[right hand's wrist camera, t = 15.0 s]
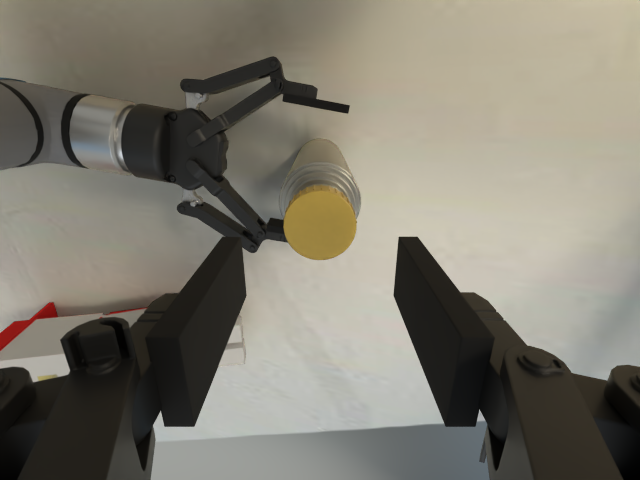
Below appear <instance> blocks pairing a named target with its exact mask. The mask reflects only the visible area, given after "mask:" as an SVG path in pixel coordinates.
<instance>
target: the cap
mask: <svg viewBox="0 0 640 480" xmlns="http://www.w3.org/2000/svg"><path fill="white" fill-rule="evenodd" d="M285 213H286V214H285V216H284V219H283V220H284V226H283V228H284V233H285V236H286V239H287V241H288V243H289V244H290V246H291V247H292V248H293V249H294V250H295V251H296V252H297V253H299V254H300V255H302V256H304V257H306V258H309V259H314V260H326V259H331V258H334V257H336V256H338V255H340V254H341V253H343V252H344V251H345V250H346V249H347V248H348V247H349V246H350V244H351V243H352V241H353V239H354V236H355V233H356V223H357V221H356V218H355V216H356V214H355V211H354V210H353V206H352V203H350V202H349V199H348V197H346V196H345V195H344V194H343V192H340V191H338V190H337V188H335V189H334V188H332V187H330V186H329V185H328V186H322V184H321V185H318V186H315V185H313V186H311V187H306V189H303V190H302V191H301V190H300V191H299V193H298V194H296V195H294V197H293V199H292V200H291V201H289V204H288V207H287V208H286V211H285Z"/></svg>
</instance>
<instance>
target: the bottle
mask: <svg viewBox="0 0 640 480" xmlns="http://www.w3.org/2000/svg"><path fill="white" fill-rule="evenodd" d="M321 184H322V186H328V185H329V186H330V187H332V188H334V189H335V188H337V190H338V191H340V192H343V194H344V195H345V196H346V197H348V199H349V202H350V203H352V206H353V210H354V211H355V214H356V216H355V218H356V219H357V216H358V214H359V211H360V205H361V197H360V192H359V188H358V186H357V184H356V181H355V179H354V177H353V175H352V173H351V171H350V169H349V167H348V165H347V163H346V161H345V159H344V157H343V155H342V153H341V151H340V150H339V148H338V147H337V146H336V145H335V144H334V143H333V142H331V141H329V140H326V139H314V140H311V141H309V142H307V143H306V144H305V145H304V146H303V147H302V148H301V150H300V151H299V153H298V155H297V157H296V159H295V161H294V163H293V165H292V167H291V169H290V171H289V174H288V176H287V178H286V180H285V182H284V184H283V186H282V188H281V191H280V197H279V205H280V211H281V214H282V217H283V219H284V216H285V214H286V213H285V211H286V208H287V207H288V204H289V201H291V200H292V199H293V197H294V195H296V194H298V193H299V191H300V190H301V191H302V190H303V189H306V187H311V186H313V185H315V186H318V185H321Z"/></svg>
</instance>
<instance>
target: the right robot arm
mask: <svg viewBox="0 0 640 480" xmlns="http://www.w3.org/2000/svg"><path fill="white" fill-rule="evenodd" d="M245 298H246V286H245V274H244V263H243V252H242V240H241V237H222V238H221V240H220V241H219V242H218V243H217V245H216V246H215V247H214V249H213V250H212V251H211V253H210V254H209V255H208V256H207V258H206V259H205V260H204V262H203V263H202V264H201V265H200V267H199V268H198V269H197V271H196V272H195V273H194V275H193V276H192V277H191V278H190V280H189V281H188V282H187V284H186V285H185V286H184V288H183V289H182V290H181V291H180V293H179V294H165V295H163V296H161V297H160V298H158V299H156V300H155V301H153V302H152V303H151V304H150V305H149V307H148V308H147V309H146V310H145V311H144V314H142V315H141V316H140V317H139V318H138V319H137V322H135V323H134V324H133V325H132V326H131V327H129V323H128V322H127V321H126V320H125V319H123V318H118V317H104V318H99V319H95V320H91V321H88V322H86V323H83V324H81V325H78V326H76V327H75V328H73V329H72V330H70V331H68V332H67V333H66V334H65V335H64V336H63V337H62V338H61V339H60V342H61V345H62V348H63V351H64V354H65V357H66V360H67V363H68V366H69V369H70V372H69V374H68V375H65V376H60V377H56V378H51V379H46V380H41V381H37V382H33V381H32V378H31V375H30V373H29V371H28V370H26V369H25V368H23V367H7V368H1V369H0V480H150V479H151V471H152V463H153V455H154V447H155V433H154V428H153V424H154V422H155V420H156V418H157V416H158V415H159V413H160V411H161V413H162V417H163V422H164V426H165V427H194V426H195V424H196V421H197V419H198V416H199V413H200V411H201V408H202V406H203V403H204V401H205V398H206V396H207V393H208V391H209V388H210V386H211V383H212V381H213V378H214V376H215V373H216V371H217V368H218V366H219V363H220V361H221V358H222V356H223V353H224V351H225V348H226V346H227V343H228V341H229V338H230V336H231V333H232V330H233V328H234V325H235V323H236V320H237V318H238V315H239V313H240V310H241V308H242V305H243V303H244V300H245ZM394 298H395V300H396V303H397V305H398V308H399V310H400V313H401V315H402V318H403V320H404V323H405V325H406V328H407V330H408V333H409V336H410V338H411V341H412V343H413V346H414V348H415V351H416V353H417V356H418V358H419V361H420V363H421V366H422V368H423V371H424V373H425V376H426V378H427V381H428V383H429V386H430V388H431V391H432V393H433V396H434V398H435V401H436V403H437V406H438V408H439V411H440V413H441V416H442V419H443V421H444V424H445V426H446V427H475V426H476V422H477V417H478V413H479V409H480V411H481V413H482V415H483V417H484V418H485V420H486V422H487V429H486V433H485V437H484V441H483V445H482V450H481V454H480V462H483V463H484V462H485V458H486V455H487V462H488V470H489V478H490V480H640V367H637V366H631V365H621V366H616V367H615V368H613V369H612V370H611V373H610V375H609V378H608V381H606V380H601V379H597V378H592V377H587V376H582V375H578V374H574V373H571V371H570V370H569V368H568V367H567V366H566V364H565V363H564V362H563V361H561V360H560V359H559V358H557V357H556V356H555V355H553V354H551V353H549V352H546V351H544V350H542V349H539V348H535V347H532V346H527V345H526V344H525V343H524V341H523V340H522V339H521V338H520V337H519V336H518V335H517V333H516V332H515V331H514V330H513V329H512V328H511V327H510V326H509V324H508V323H507V322H506V321H504V320H503V318H502V316H501V315H500V314H499V313H498V312H496V310H495V308H494V307H493V306H492V305H491V304H490V303H489V302H488V301H487V300H486V299H484V298H482V297H481V296H479V295H477V294H476V293H460V291H459V290H458V289H457V288H456V286H455V285H454V284H453V282H452V281H451V280H450V278H449V277H448V276H447V275H446V273H445V272H444V271H443V269H442V268H441V267H440V265H439V264H438V263H437V262H436V260H435V259H434V258H433V256H432V255H431V254H430V253H429V251H428V250H427V249H426V247H425V246H424V245H423V243H422V242H421V241H420V240H419V238H418V237H399V240H398V252H397V263H396V274H395V286H394Z"/></svg>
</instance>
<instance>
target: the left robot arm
mask: <svg viewBox="0 0 640 480" xmlns="http://www.w3.org/2000/svg"><path fill="white" fill-rule="evenodd" d="M268 76H270V79H271V82H270V83H268V84H267V85H265V86H264V87H262V88H261V89H259V90H258V91H256V92H255V93H253V94H252V95H250V96H249V97H247V98H246V99H244V100H243V101H241V102H240V103H238V104H237V105H235V106H234V107H232V108H231V109H229V110H228V111H226V112H225V113H223V114H221V115H219V116H217V117H216V118H214V119H213V120H210V119H209V118H208V117H207V116H206V115H205V114H204V113H203V112H202V111H201V110H199V106H200V104H201V103H203V102H206V101H208V99H209V94H217V93H220V92H223V91H226V90H229V89H232V88H235V87H238V86H241V85H244V84H247V83H250V82H253V81H256V80H259V79H262V78H265V77H268ZM180 86H181V89H182V90H183V91H184V92H185V96H186V109H184V110H174V109H168V108H163V107H157V106H152V105H146V104H138V105H136V104H135V103H133V102H130V101H124V100H119V99H113V98H108V97H103V96H97V95H89V94H81V93H76V92H71V91H66V90H61V89H57V88H52V87H47V86H42V85H36V84H31V83H26V82H25V81H21V80H16V79H10V78H1V77H0V170H4V169H8V168H14V167H23V166H28V165H33V164H38V163H57V164H64V165H70V166H77V167H83V168H88V169H94V170H99V171H105V172H110V173H116V174H121V175H127V176H128V175H132V174H133V175H134V176H136V177H140V178H146V179H151V180H157V181H163V182H169V183H175V184H178V185H179V186H181V187H182V188H184V189H183V196H182V202H181V203H180V204H179V205H178V206H177V210H178V212H179V213H181V214H184V215H188V216H191V217H195V218H198V219H199V220H201V221H202V222H204V223H205V224H207V225H208V226H210V227H212V228H213V229H215V230H216V231H218V232H219V233H221V234H222V235H224V236H226V237H241V240H242V247H243V248H244V249H246V250H247V251H249V252H251V253H255V252H256V251H257V250H258V248H259V246H260V244H261V242H262V241H263V240H265V239H270V240H276V241H282V242H288V241H287V239H286V236H285V233H284V228H283V226H284V220H281V219H275V218H270V220H269V222H268V223H267V224H266V223H265V222H264V221H263V220H262V219H261V218H260V217H259V215H258V214H257V213H256V212H255V211H254V210H253V209H252V208H251V207H250V206H249V205H248V204H247V203H246V202H245V200H244V199H243V198H242V197H241V196H240V195H239V194H238V193H237V192H236V191H235V190H234V189H233V188H232V187H231V185H230V184H229V182H228V180H227V179H226V178H225V177H224V176H223V175H222V174H223V173H224V171H225V170H226V169H227V159H226V152H227V149H228V143H229V141H228V140H227V138H226V135H225V134H224V132H225V131H226V130H228V129H229V128H231V127H232V126H234V125H235V124H236V123H238V122H239V121H241V120H242V119H244V118H245V117H247V116H248V115H250V114H251V113H253V112H255V111H256V110H258V109H259V108H261V107H262V106H264V105H265V104H267V103H268V102H270V101H271V100H273V99H274V98H276V97H278V96H279V95H281V94H283V101H284V102H289V103H294V104H299V105H305V106H310V107H315V108H321V109H326V110H331V111H337V112H342V113H348V112H349V107H350V105H345V104H339V103H334V102H329V101H323V100H318V99H316V96H317V88H315V87H314V86H312V85H307V84H301V83H296V82H291V81H287V80H286V79H285V78H284V75H283V69H282V64H281V62H280V61H279V60H278V59H277V58H276V57H269V58H266V59H263V60H260V61H258V62H255V63H252V64H249V65H246V66H243V67H240V68H237V69H234V70H231V71H228V72H225V73H222V74H219V75H216V76H214V77H211V78H208V79H205V80H197V79H183V80H182V81H181V83H180ZM201 186H204V187H205V188H206V189H207V190H208V191H209V192H210V193H211V194H212V195H214V196H216V197H217V198H218V199H219V200H220V201H221V202H222V203H223V204H224V205H225V206H226V207H227V208H228V209H229V210H230V211H231V212H232V213H233V214H234V215H235V216H236V217H237V218H238V219H239V221H240V222H241V223H242V224H243V225H244V226H245V227H246V228H247V229H246V228H245V227H243V226H242V225H240V224H239V223H237V222H236V221H234V220H233V219H231V218H230V217H228V216H227V215H225V214H224V213H222V212H221V211H219V210H217V209H216V208H214V207H213V206H211V205H210V204H208V203H205V202H203V199H202V197H200V196H199V195H197V194H196V191H195V189H197V188H199V187H201Z"/></svg>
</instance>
